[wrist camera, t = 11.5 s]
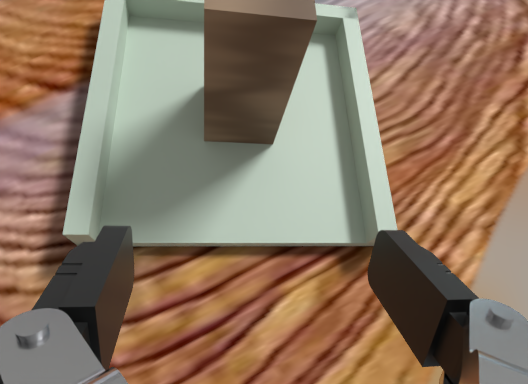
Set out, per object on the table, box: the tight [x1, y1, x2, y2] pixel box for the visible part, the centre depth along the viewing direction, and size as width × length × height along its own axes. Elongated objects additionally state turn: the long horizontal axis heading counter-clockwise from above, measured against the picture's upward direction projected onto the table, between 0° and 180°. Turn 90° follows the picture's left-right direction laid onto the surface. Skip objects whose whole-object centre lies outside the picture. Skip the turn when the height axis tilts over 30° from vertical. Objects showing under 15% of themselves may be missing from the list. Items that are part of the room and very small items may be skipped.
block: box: [204, 0, 317, 144], centre depth 19 cm, size 4×4×10 cm
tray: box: [62, 0, 397, 246], centre depth 24 cm, size 18×18×2 cm
